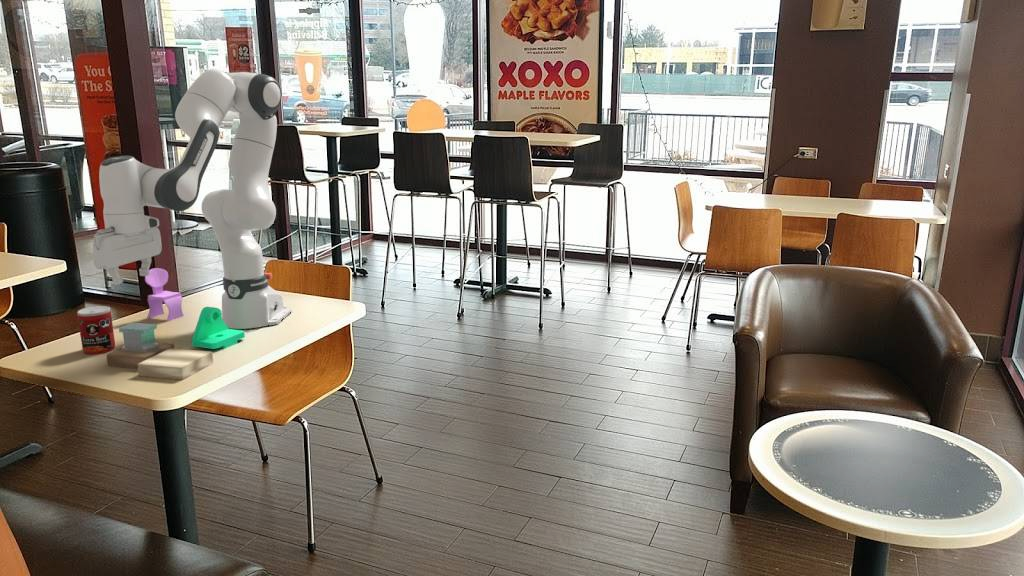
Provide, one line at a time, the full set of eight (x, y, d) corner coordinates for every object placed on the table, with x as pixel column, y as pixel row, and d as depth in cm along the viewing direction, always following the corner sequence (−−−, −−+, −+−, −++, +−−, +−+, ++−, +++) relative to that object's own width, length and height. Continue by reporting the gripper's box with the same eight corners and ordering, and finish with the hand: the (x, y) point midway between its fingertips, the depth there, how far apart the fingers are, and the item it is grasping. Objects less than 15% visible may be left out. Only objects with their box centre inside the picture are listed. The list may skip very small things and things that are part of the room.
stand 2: (171, 359, 196) (170, 348, 195) (213, 363, 193) (212, 351, 192) (139, 375, 184) (137, 364, 183) (183, 379, 181) (181, 367, 181)
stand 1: (138, 352, 202) (136, 341, 201) (175, 354, 199) (173, 343, 198) (107, 365, 191) (106, 354, 190) (146, 369, 189) (144, 357, 188)
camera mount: (215, 353, 201) (211, 315, 199) (192, 349, 204) (188, 312, 201) (246, 340, 212) (243, 304, 209) (225, 337, 215) (221, 301, 212)
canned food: (79, 355, 199) (73, 314, 196) (87, 346, 206) (81, 307, 204) (112, 353, 201) (106, 312, 198) (118, 344, 208) (113, 304, 206)
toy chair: (165, 322, 228) (159, 273, 225) (144, 319, 232) (138, 270, 228) (187, 315, 236) (182, 267, 232) (166, 312, 239) (160, 265, 235)
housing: (135, 345, 198) (132, 322, 196) (159, 346, 196) (156, 324, 195) (121, 351, 193) (118, 328, 191) (146, 353, 191) (143, 330, 190)
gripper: (105, 231, 176) (112, 290, 179) (163, 218, 196) (169, 271, 199) (81, 230, 178) (89, 288, 181) (141, 217, 197) (148, 270, 200)
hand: (131, 279), depth 190 cm, fingers open, 8 cm apart
